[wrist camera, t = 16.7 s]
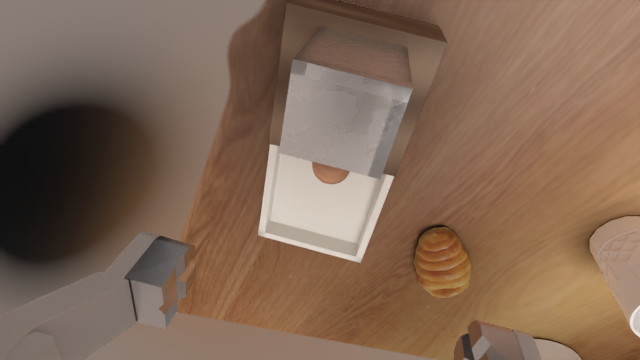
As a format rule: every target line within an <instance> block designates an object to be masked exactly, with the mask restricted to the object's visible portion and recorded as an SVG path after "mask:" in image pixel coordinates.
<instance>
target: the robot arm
mask: <svg viewBox="0 0 640 360" xmlns="http://www.w3.org/2000/svg"><path fill="white" fill-rule="evenodd" d="M195 254H196V251H195V246H194V245H191V244H187V243H184V242H181V241H177V240H174V239H170V238H167V237H164V236H160V235H157V234H153V233H149V232H146V231H143V232H142V233H140V234H138V235H137V236H136V237H135V238H134V239H133V241H132V242H131V243H130V244H129V245H128V246H127V248H126V249H125V250H124V251H123V252H122V253H121V254H120V255H119V256H118V258H117V259H116V260H115V261H114V262H113V263H112V264H111V266H110V267H109V268H108V269H107V270H106V271H105V272H104V273H101V272H97V273H95V274H93V275H90V276H88V277H86V278H84V279H81V280H79V281H77V282H74V283H72V284H70V285H68V286H65V287H63V288H61V289H59V290H56V291H54V292H52V293H50V294H47V295H45V296H43V297H41V298H38V299H36V300H34V301H32V302H30V303H27V304H25V305H22V306H20V307H18V308H16V309H13V310H11V311H9V312H7V313H5V314H2V315H0V360H84V359H85V358H87V357H88V356H89V355H91V354H93V353H94V352H95V351H97V350H98V349H100V348H101V347H103V346H104V345H106V344H107V343H109V342H110V341H112V340H113V339H115V338H116V337H118V336H119V335H120V334H122V333H123V332H125V331H126V330H128V329H129V328H131V327H132V326H134V325H135V324H136V322H140V323H144V324H148V325H151V326H156V327H160V328H164V329H167V327H168V325H169V324H170V322H171V320H172V319H173V317H174V315H175V314H176V312H177V310H178V300H179V299H181V298H183V297H185V296H186V295H187V293H188V291H189V290H190V288H191V286H192V283H193V280H194V278H195V272H196V264H195V263H194V261H193V260H192V259H193V257H194V256H195ZM468 331H469V333H468V334H465V335H462V336H461V337H460V338H459V340H458V341H457V343H456V347H455V351H454V360H581V358H580V357H579V355H578V354H577V353H576V352H574V351H573V350H572V349H570V348H568V347H566V346H564V345H562V344H559V343H556V342H552V341H548V340H542V339H534V338H533V337H532V336H531V335H530V334H526V333H522V332H518V331H515V330H510V329H509V328H505V327H501V326H497V325H493V324H489V323H485V322H481V321H477V320H475V321H473V322H471V323H470V325H469V326H468Z"/></svg>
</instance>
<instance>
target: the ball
mask: <svg viewBox="0 0 640 360" xmlns="http://www.w3.org/2000/svg"><path fill="white" fill-rule="evenodd" d="M312 168H313V172H314V174H315V176H316V177H317V178H318V179H319V180H320V181H322V182H323V183H326V184H337V183H340V182H342V181H343V180H344V179H345V178H346V177H347V176H348V174H349V172H350V171H346V170H343V169H339V168H335V167H331V166H327V165H323V164H319V163H316V162H312Z"/></svg>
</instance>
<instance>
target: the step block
mask: <svg viewBox="0 0 640 360" xmlns="http://www.w3.org/2000/svg"><path fill="white" fill-rule="evenodd" d="M320 26H323V27H327V28H331V29H336V30H340V31H344V32H348V33H352V34H356V35H360V36H364V37H368V38H372V39H376V40H380V41H384V42H388V43H392V44H396V45H400V46H404V47H407V48H408V55H409V63H410V71H411V79H412V87H413V90H412V93H411V95H410V98H409V101H408V104H407V107H406V109H405V112H404V115H403V118H402V120H401V123H400V126H399V129H398V132H397V134H396V137H395V140H394V143H393V146H392V148H391V151H390V154H389V157H388V159H387V162H386V165H385V168H384V171H383V174H387V175H391V176H396V174H397V171H398V168H399V166H400V163H401V161H402V158H403V156H404V153H405V151H406V148H407V145H408V143H409V140H410V138H411V135H412V133H413V130H414V128H415V125H416V122H417V120H418V117H419V115H420V112H421V110H422V107H423V105H424V102H425V99H426V97H427V94H428V92H429V89H430V87H431V84H432V82H433V79H434V76H435V74H436V71H437V69H438V66H439V64H440V61H441V59H442V56H443V54H444V51H445V48H446V46H447V41H446V39H445V37H444V35H443V33H442V31H441V29H440V27H439V26H436V25H432V24H428V23H424V22H420V21H416V20H412V19H407V18H403V17H399V16H395V15H391V14H387V13H383V12H379V11H375V10H371V9H367V8H363V7H359V6H355V5H351V4H347V3H343V2H339V1H335V0H290V1H289V2H287V4H286V12H285V20H284V27H283V35H282V43H281V51H280V58H279V66H278V74H277V82H276V89H275V97H274V105H273V112H272V120H271V128H270V136H269V144H272V145H276V146H280V142H281V135H282V128H283V121H284V115H285V108H286V101H287V94H288V88H289V81H290V74H291V67H292V60H293V58H294V57H295V56H296V54H297V53H298V52H299V51H300V50H301V49H302V47H303V46H304V45H305V44H306V43H307V41H308V40H309V39H310V38H311V37H312V36H313V34H314V33H315V32H316V31H317V30H318V28H319V27H320Z"/></svg>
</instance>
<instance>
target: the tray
mask: <svg viewBox="0 0 640 360" xmlns="http://www.w3.org/2000/svg"><path fill="white" fill-rule="evenodd" d="M279 148H280V146H276V145H272V144H270V149H269V157H268V164H267V172H266V179H265V187H264V194H263V202H262V209H261V217H260V224H259V232H258V235H259V236H262V237H266V238H270V239H274V240H277V241H281V242H285V243H288V244H292V245H296V246H300V247H303V248H307V249H311V250H314V251H318V252H322V253H326V254H329V255H333V256H337V257H340V258H344V259H348V260H352V261H355V262H359V263H361V261H362V258H363V255H364V253H365V250H366V248H367V245H368V243H369V240H370V237H371V235H372V232H373V230H374V227H375V225H376V222H377V219H378V217H379V214H380V212H381V209H382V207H383V204H384V202H385V199H386V196H387V194H388V191H389V189H390V186H391V184H392V181H393V178H394V176H391V175H387V174H383V173H382V176H381V179H377V178H373V177H370V176H366V175H362V174H358V173H354V172H349V174H348V176H347V177H346V178H345V179H344V180H343V181H342V182H340V183H337V184H326V183H323V182H322V181H320V180H319V179H318V178H317V177H316V176H315V174H314V172H313V168H312V161H308V160H304V159H300V158H296V157H292V156H289V155H285V154H281V153H279Z"/></svg>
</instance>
